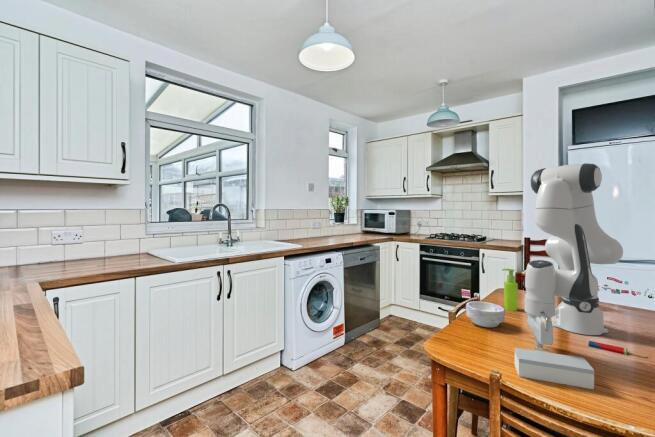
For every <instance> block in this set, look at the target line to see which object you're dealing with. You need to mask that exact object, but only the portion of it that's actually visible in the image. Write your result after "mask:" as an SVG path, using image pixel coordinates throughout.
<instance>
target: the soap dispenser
mask: <svg viewBox="0 0 655 437" xmlns="http://www.w3.org/2000/svg"><path fill="white" fill-rule="evenodd" d="M501 271H509V272H508V275H507V276H506V281H504V282H503V308H504V309H505V311H506V310H507V311H510V310H511V312H512V311H513V312H515V311H518V299H519V298H518V296H519V295H518V291H519V283H518V282H516V277H515V275H514V272H515V269H512V268H502V269H501Z"/></svg>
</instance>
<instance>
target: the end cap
mask: <svg viewBox="0 0 655 437" xmlns="http://www.w3.org/2000/svg"><path fill="white" fill-rule="evenodd" d="M513 364H514V367H515V370H516V372H517V376H518V377H519V378H526V379H532V380H537V381H544V382H550V383H555V384H561V385H565V384H566V385H565V386H572V387H576V388H577V387H579V388H583V389H588V390H589V389H590V390H595V369H594V368H593V367H592V366H591V365H590V363H589V362H588V361H587V360H586V358H584V357H581V356H575V355H566V354H560V353H554V352H550V353H547V352H541V351H534V349H532V350H531V349H525V348H519V347H514V363H513Z"/></svg>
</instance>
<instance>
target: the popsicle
mask: <svg viewBox="0 0 655 437" xmlns="http://www.w3.org/2000/svg"><path fill="white" fill-rule="evenodd" d="M587 343H588V346H587V347H589V348H594V349H598V350H602V351H607V352H611V353H615V354H620V355H623V356H628V355H632V356H634V357H635V356H636V357H638V358H639V357H640V358H644V359H646V358H647V355H646V354H643V353H642V354H641V353H636V352H632V351H628V348H626V347H621V346H617V345H611V344H607V343H602V342H598V341H592V340H588V342H587Z"/></svg>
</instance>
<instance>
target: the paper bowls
mask: <svg viewBox="0 0 655 437" xmlns="http://www.w3.org/2000/svg"><path fill="white" fill-rule="evenodd" d="M465 308H466V309H465V315H466V317H468V318H469V319H470V320H471V322H472V323H473V324H475V325H477V326H478V327H483V328H496V327H498V326H499V325H500V323H501V324H502V323H504V322H505V319H506V309H504V306H501V305H499V304H496V303H493V302H487V301H480V300H479V301H478V300H477V301H475V300H474V301H468V302H467V303H466V304H465Z"/></svg>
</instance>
